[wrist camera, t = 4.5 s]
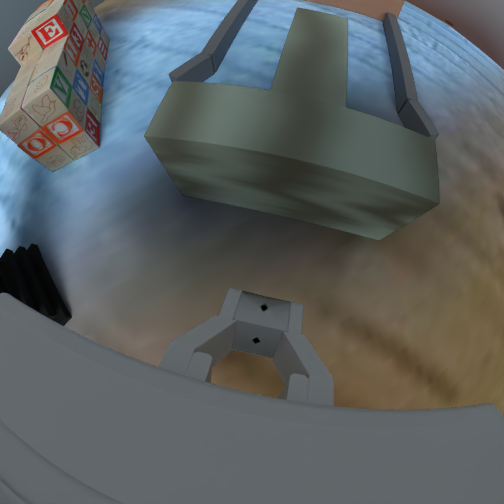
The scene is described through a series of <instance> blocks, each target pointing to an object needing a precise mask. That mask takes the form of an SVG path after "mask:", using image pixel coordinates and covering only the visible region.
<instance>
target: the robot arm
mask: <svg viewBox="0 0 504 504" xmlns="http://www.w3.org/2000/svg"><path fill="white" fill-rule="evenodd" d="M302 320H303V304H300V303H295V302H289V301H285V300H280V299H275V298H271V297H266V296H262V295H258V294H254V293H250V292H246V291H241V290H237V289H234V288H229V290H228V292H227V295H226V298H225V300H224V303H223V306H222V308H221V311H220V314H219V316H217V315H215V316H213V317H211V318H210V319H208V320H206V321H205V322H203V323H201V324H200V325H198V326H196V327H195V328H193V329H191V330H190V331H188V332H186V333H185V334H183V335H181V336H180V337H178V338H176V339H175V340H173V341H171V342H170V344H169V346H168V348H167V350H166V353H165V355H164V357H163V359H162V361H161V363H160V365H159V367H157V366H154V365H151V364H148V363H146V362H143V361H140V360H138V359H135V358H133V357H130V356H127V355H125V354H123V353H120V352H118V351H115V350H113V349H111V348H108V347H106V346H104V345H101V344H99V343H97V342H95V341H93V340H90V339H88V338H86V337H84V336H82V335H80V334H78V333H76V332H74V331H72V330H70V329H68V328H66V327H64V326H62V325H60V324H58V323H57V322H55V321H53V320H51V319H49V318H47V317H46V316H44V315H42V314H40V313H39V312H37V311H35V310H33V309H32V308H30V307H28V306H27V305H25V304H24V303H22V302H20V301H19V300H17V299H16V298H14V297H13V296H11V295H10V294H8V293H1V294H0V504H504V416H503V415H502V414H501V413H500V411H499V410H498V409H497V408H496V407H495V406H494V405H493V404H491V403H485V404H478V405H470V406H461V407H451V408H437V409H409V410H394V409H364V408H349V407H338V406H333V392H334V379H333V377H332V376H331V374H330V373H329V371H328V369H327V368H326V366H325V365H324V363H323V362H322V360H321V359H320V357H319V356H318V354H317V353H316V351H315V350H314V348H313V347H312V345H311V344H310V342H309V341H308V339H307V338H306V336H305V335H302ZM232 349H233V350H237V351H242V352H247V353H252V354H256V355H260V356H264V357H268V358H273V361H274V364H275V366H276V368H277V370H278V373H279V375H280V377H281V379H282V382H283V384H284V388H283V390H282V391H281V393H280V395H279V397H278V398H273V397H268V396H263V395H258V394H253V393H248V392H244V391H239V390H235V389H231V388H227V387H223V386H219V385H215V384H211V372H212V367H213V366H214V365H215V364H216V363H218V362H219V361H220V360H221V359H222V358H224V357H225V356H226V355H227V354H228V353H229V352H231V351H232Z"/></svg>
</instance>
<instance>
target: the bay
mask: <svg viewBox="0 0 504 504" xmlns="http://www.w3.org/2000/svg"><path fill="white" fill-rule="evenodd" d="M257 1H258V0H238V1H237V2H236V4H235V5H234V6H233V8H232V9H231V10H230V11H229V13H228V14H227V16H226V17H225V18H224V20H223V21H222V22H221V24H220V25H219V27H218V28H217V30H216V31H215V33H214V34H213V35H212V37H211V38H210V40H209V41H208V43H207V45H206V46H205V48H204V49H203V51H202V52H201V53H200V54H198V55H197V56H195V57H194V58H192V59H190V60H189V61H187V62H186V63H184V64H183V65H181V66H180V67H178V68H177V69H175V70H174V71H172V72H171V73H169V76H170V79H171V82H173V81H183V82H203V81H205V80H206V79H208V78H209V77H210V76H212V75H213V74H214V72H216V71H217V69H218V67H219V66H220V64H221V62H222V60H223V58H224V56H225V54H226V52H227V51H228V49H229V47H230V45H231V43H232V42H233V40H234V38H235V36H236V35H237V33H238V31H239V30H240V28H241V26H242V25H243V23H244V21H245V20H246V18H247V16H248V15H249V13H250V12H251V10H252V9H253V7H254V5H255V4H256V2H257ZM305 1H311V2H316V3H321V4H325V5H330V6H334V7H338V8H342V9H346V10H349V11H353V12H356V13H360V14H363V15H366V16H369V17H372V18H375V19H378V20H381V21H384V22H383V26H384V31H385V35H386V40H387V44H388V49H389V55H390V60H391V66H392V72H393V79H394V87H395V95H396V104H397V113H399V117H400V119H401V120H402V122H403V124H404V125H405V127H406V128H407V129H410V130H412V131H414V132H417V133H419V134H421V135H424V136H426V137H428V138H430V139H433V140H435V139H436V138H437V136H438V135H439V133H438V132H437V130H436V128H435V126H434V125H433V123H432V122H431V120H430V118H429V117H428V115H427V114H426V112H425V111H424V109H423V108H422V106H421V105H420V103H419V102H418V98H417V93H416V88H415V83H414V78H413V74H412V70H411V65H410V61H409V58H408V54H407V50H406V47H405V43H404V40H403V37H402V34H401V30H400V27H399V24H398V22H397V19H398V16H399V14H400V11H401V9H402V6H403V4H404V1H405V0H305Z"/></svg>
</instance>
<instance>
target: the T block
mask: <svg viewBox="0 0 504 504" xmlns="http://www.w3.org/2000/svg"><path fill="white" fill-rule="evenodd" d="M347 73H348V19H347V18H343V17H339V16H336V15H331V14H327V13H323V12H318V11H313V10H308V9H302V8H297V10H296V12H295V15H294V18H293V21H292V24H291V27H290V30H289V33H288V36H287V39H286V42H285V45H284V48H283V51H282V54H281V57H280V60H279V63H278V67H277V70H276V73H275V76H274V79H273V82H272V86H271V89H270V90H266V89H260V88H253V87H245V86H237V85H228V84H217V83H204V82H183V81H173V82H172V84H171V86H170V87H169V89H168V91H167V93H166V94H165V96H164V98H163V100H162V102H161V104H160V105H159V107H158V109H157V111H156V113H155V115H154V117H153V119H152V121H151V123H150V125H149V127H148V129H147V131H146V133H145V135H144V137H145V139H146V140H147V142H148V143H149V145H150V146H151V148H152V149H153V151H154V153H155V154H156V156H157V157H158V159H159V160H160V162H161V163H162V165H163V166H164V168H165V169H166V171H167V173H168V174H169V176H170V177H171V179H172V180H173V182H174V183H175V185H176V186H177V188H178V189H179V191H180V192H181V194H182V195H183V196H189V197H194V198H199V199H204V200H209V201H214V202H219V203H224V204H229V205H234V206H239V207H244V208H248V209H253V210H257V211H262V212H267V213H271V214H275V215H280V216H284V217H289V218H293V219H297V220H301V221H306V222H310V223H314V224H318V225H322V226H326V227H330V228H334V229H338V230H342V231H346V232H350V233H353V234H357V235H361V236H365V237H368V238H372V239H376V240H381V239H382V238H384V237H386V236H388V235H389V234H391V233H393V232H394V231H396V230H398V229H399V228H401V227H403V226H404V225H406V224H408V223H409V222H411V221H413V220H414V219H416V218H418V217H419V216H421V215H423V214H424V213H426V212H427V211H429V210H431V209H432V208H434V207H435V206H437V205H438V204H440V199H439V177H438V164H437V154H436V145H435V140H433V139H430V138H428V137H426V136H424V135H421V134H419V133H417V132H414V131H412V130H410V129H407V128H405V127H402V126H400V125H397V124H394V123H392V122H389V121H386V120H383V119H381V118H378V117H375V116H372V115H369V114H366V113H363V112H360V111H356V110H353V109H350V108H346V96H347Z"/></svg>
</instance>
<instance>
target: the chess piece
mask: <svg viewBox="0 0 504 504" xmlns="http://www.w3.org/2000/svg"><path fill="white" fill-rule="evenodd" d="M1 293H8V294H10V295H11V296H13V297H14V298H16V299H17V300H19V301H20V302H22V303H24V304H25V305H27V306H28V307H30V308H32V309H33V310H35V311H37V312H39V313H40V314H42V315H44V316H46V317H47V318H49V319H51V320H53V321H55V322H57V323H58V324H60V325H62V326H64V325H65V324H66V323H67V322H68V321H69V320H70V319H71V318H72V317H71V315H70V313H69V311H68V310H67V308H66V306H65V304H64V302H63V300H62V298H61V296H60V295H59V293H58V291H57V289H56V287H55V284H54V282H53V280H52V278H51V276H50V274H49V272H48V269H47V267H46V265H45V263H44V260H43V258H42V256H41V253H40V251H39V248H38V246H37V245H35V244H31V245H30V247H29V248H28V249H27V251H26V248H24V247H21V246H19V248H18V249H17V250H16V252H15V253H13V251H12V250H9V249H6V250H5V252H4V253H3V255H2V256H1V258H0V294H1Z"/></svg>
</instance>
